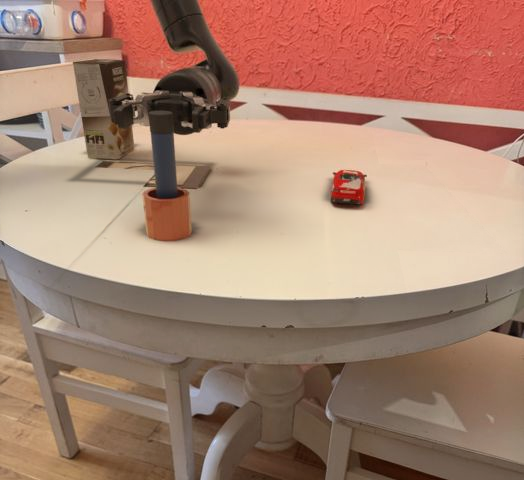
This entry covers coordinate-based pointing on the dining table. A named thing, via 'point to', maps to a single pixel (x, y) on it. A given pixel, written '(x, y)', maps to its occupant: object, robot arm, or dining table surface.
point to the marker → (163, 154)
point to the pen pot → (167, 216)
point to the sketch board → (185, 173)
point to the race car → (348, 187)
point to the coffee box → (102, 107)
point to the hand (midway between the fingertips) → (157, 121)
